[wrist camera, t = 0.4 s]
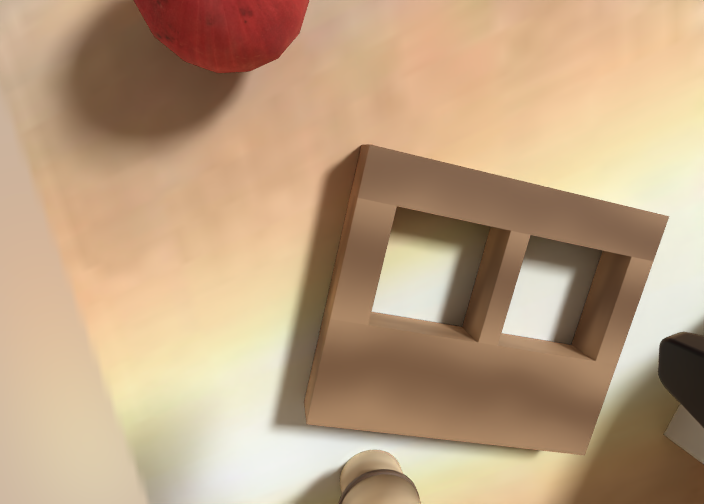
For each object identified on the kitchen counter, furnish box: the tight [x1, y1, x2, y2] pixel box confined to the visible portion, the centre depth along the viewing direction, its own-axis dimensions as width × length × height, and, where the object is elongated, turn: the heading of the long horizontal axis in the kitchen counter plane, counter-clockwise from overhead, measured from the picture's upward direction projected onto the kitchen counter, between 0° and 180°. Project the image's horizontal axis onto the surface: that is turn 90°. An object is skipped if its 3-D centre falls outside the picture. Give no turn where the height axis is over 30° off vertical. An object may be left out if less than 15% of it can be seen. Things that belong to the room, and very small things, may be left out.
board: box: [304, 145, 669, 455], centre depth 23 cm, size 13×15×2 cm
